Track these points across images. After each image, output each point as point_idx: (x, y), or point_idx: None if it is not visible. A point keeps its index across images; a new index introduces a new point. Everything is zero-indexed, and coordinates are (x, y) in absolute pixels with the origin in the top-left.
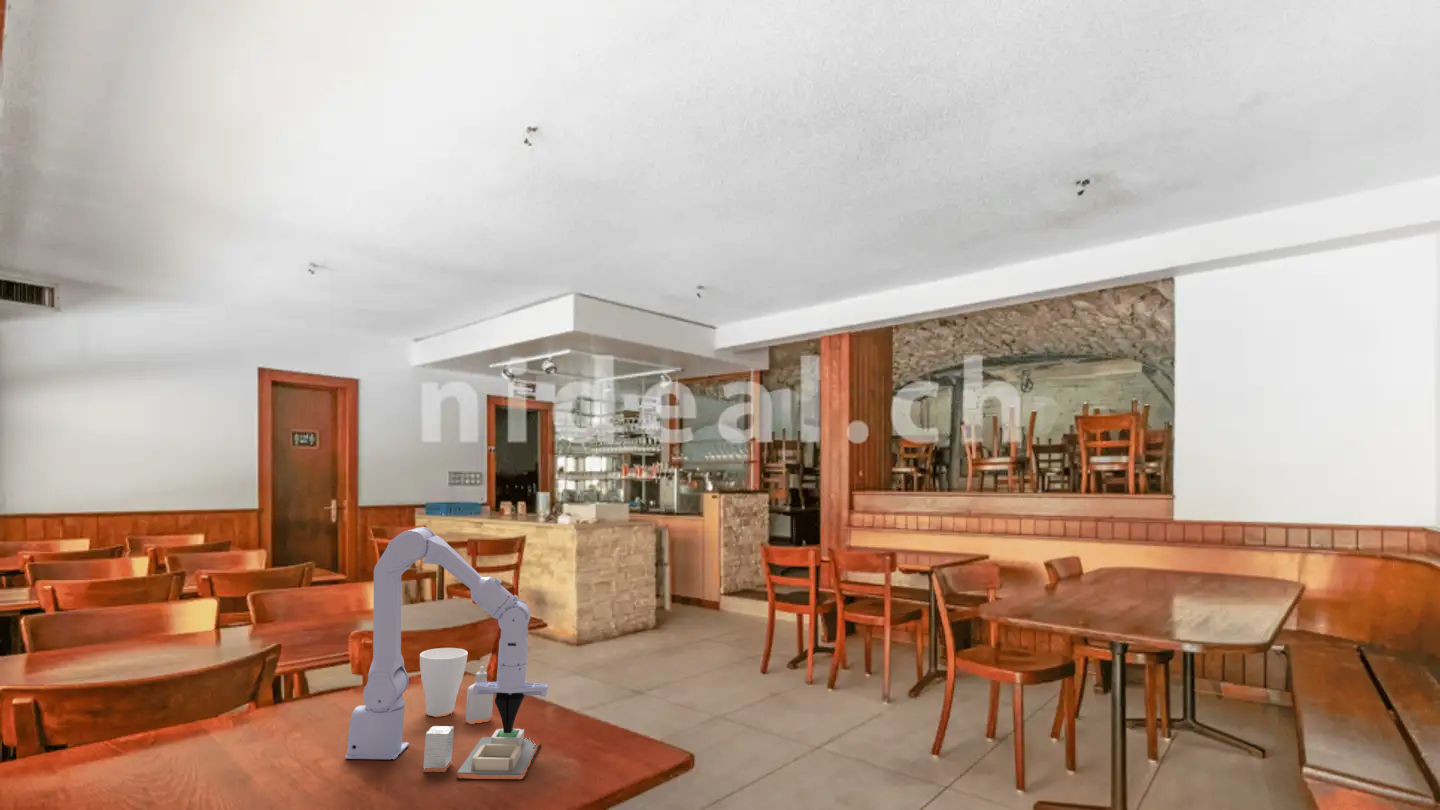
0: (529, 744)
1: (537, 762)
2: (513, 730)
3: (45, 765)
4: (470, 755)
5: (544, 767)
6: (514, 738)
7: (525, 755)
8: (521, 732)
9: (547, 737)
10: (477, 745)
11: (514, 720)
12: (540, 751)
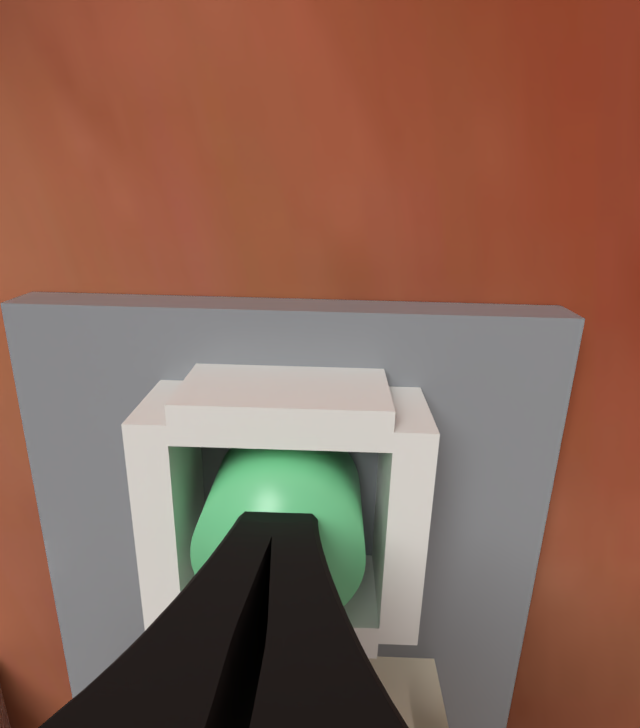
0: (482, 470)
1: (542, 633)
2: (332, 539)
3: None
4: (76, 665)
5: (588, 697)
6: (371, 652)
7: (468, 666)
8: (418, 515)
9: (635, 105)
10: (46, 498)
11: (329, 572)
12: (562, 456)
